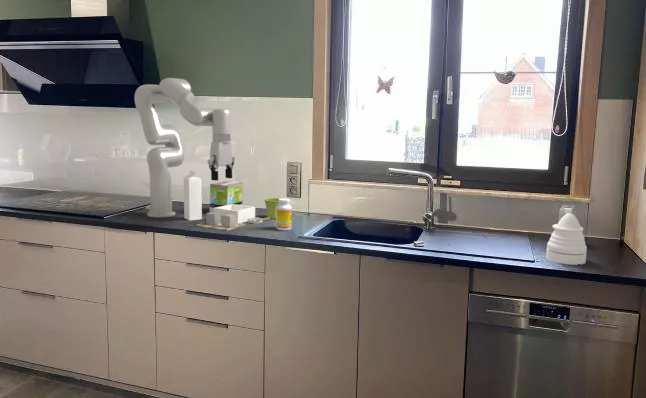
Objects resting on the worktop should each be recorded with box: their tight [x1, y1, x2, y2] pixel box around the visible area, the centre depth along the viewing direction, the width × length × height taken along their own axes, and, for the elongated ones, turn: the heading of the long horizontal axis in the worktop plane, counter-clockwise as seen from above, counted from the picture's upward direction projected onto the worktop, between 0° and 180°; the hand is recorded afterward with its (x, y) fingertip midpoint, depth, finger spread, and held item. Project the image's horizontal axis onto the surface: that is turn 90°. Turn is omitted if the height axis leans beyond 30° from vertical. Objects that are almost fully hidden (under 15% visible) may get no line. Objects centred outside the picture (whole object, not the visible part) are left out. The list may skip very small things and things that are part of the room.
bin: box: [214, 204, 256, 224], centre depth 246 cm, size 13×13×6 cm
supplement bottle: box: [275, 198, 293, 231], centre depth 230 cm, size 7×7×13 cm
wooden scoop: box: [246, 216, 271, 225], centre depth 244 cm, size 11×4×2 cm, turn 138°
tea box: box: [209, 180, 244, 213], centre depth 264 cm, size 15×10×15 cm
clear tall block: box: [558, 204, 577, 222], centre depth 217 cm, size 6×6×15 cm
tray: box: [195, 220, 246, 231], centre depth 233 cm, size 16×13×1 cm
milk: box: [183, 170, 203, 221], centre depth 245 cm, size 6×6×22 cm
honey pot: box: [545, 208, 588, 266], centre depth 191 cm, size 13×13×18 cm
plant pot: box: [263, 197, 281, 220], centre depth 255 cm, size 9×9×9 cm
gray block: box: [221, 214, 236, 228], centre depth 231 cm, size 4×4×5 cm
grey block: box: [205, 211, 221, 226], centre depth 234 cm, size 4×4×5 cm
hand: (221, 179), depth 231 cm, fingers open, 9 cm apart
